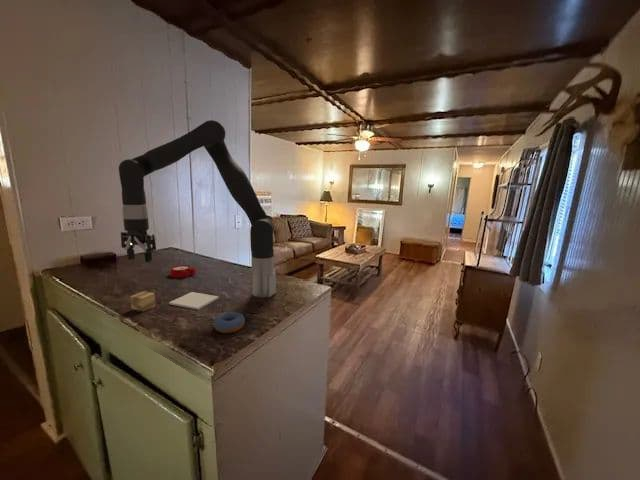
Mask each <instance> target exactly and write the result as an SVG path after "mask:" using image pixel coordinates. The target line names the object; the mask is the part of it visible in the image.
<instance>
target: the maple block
mask: <svg viewBox="0 0 640 480" xmlns="http://www.w3.org/2000/svg"><path fill="white" fill-rule="evenodd" d="M129 299H130V305H131V310H132V309H135V310H139V311H145V310H147V311H149V310H151V309H153V308H156V307H157V304H156V294H155V292H151V291H144V290H143V291H141V292H138V293H135V294H133V295H130V298H129ZM155 306H156V307H155ZM150 308H151V309H150ZM148 309H149V310H148ZM139 311H138V312H139ZM145 312H146V311H145Z"/></svg>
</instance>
